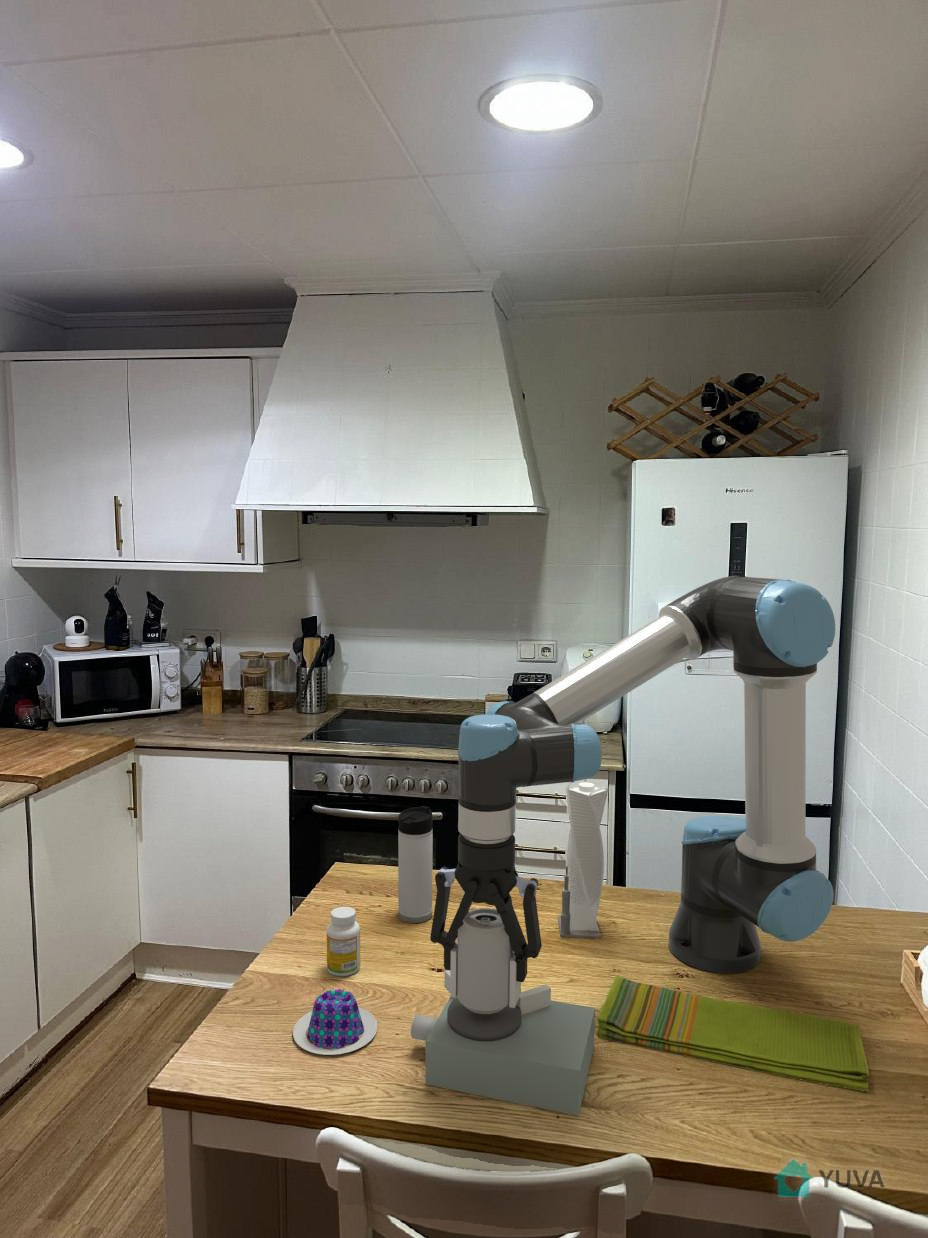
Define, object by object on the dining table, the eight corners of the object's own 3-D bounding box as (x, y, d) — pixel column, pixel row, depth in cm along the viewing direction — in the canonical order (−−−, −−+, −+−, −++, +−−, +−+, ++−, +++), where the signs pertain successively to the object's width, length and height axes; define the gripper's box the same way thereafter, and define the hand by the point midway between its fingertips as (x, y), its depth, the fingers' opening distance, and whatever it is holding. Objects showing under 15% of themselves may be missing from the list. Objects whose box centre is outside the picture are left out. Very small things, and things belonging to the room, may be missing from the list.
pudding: (384, 1012, 126) (384, 979, 126) (367, 1063, 115) (367, 1026, 114) (306, 1007, 128) (306, 974, 127) (281, 1057, 116) (281, 1021, 115)
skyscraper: (557, 914, 157) (560, 768, 154) (601, 916, 157) (605, 769, 154) (560, 937, 149) (564, 783, 146) (606, 938, 149) (611, 784, 145)
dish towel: (612, 985, 135) (612, 966, 134) (858, 1031, 123) (859, 1011, 123) (594, 1040, 120) (595, 1019, 120) (870, 1099, 109) (872, 1076, 108)
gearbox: (593, 1048, 118) (595, 991, 117) (578, 1116, 104) (580, 1051, 103) (430, 1018, 124) (430, 964, 123) (396, 1078, 111) (396, 1017, 110)
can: (513, 988, 117) (514, 905, 116) (511, 1019, 110) (512, 932, 108) (460, 984, 118) (460, 902, 117) (454, 1016, 111) (454, 929, 109)
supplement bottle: (336, 957, 141) (336, 902, 140) (365, 963, 140) (365, 907, 138) (321, 973, 136) (320, 916, 135) (351, 980, 135) (350, 922, 133)
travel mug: (439, 912, 158) (440, 809, 155) (419, 927, 152) (419, 819, 150) (412, 904, 161) (412, 803, 159) (391, 918, 155) (391, 813, 153)
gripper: (568, 832, 112) (564, 994, 115) (423, 815, 118) (422, 971, 120) (558, 853, 105) (554, 1026, 107) (404, 835, 110) (404, 999, 113)
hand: (484, 996), depth 114 cm, fingers closed on can, 7 cm apart
